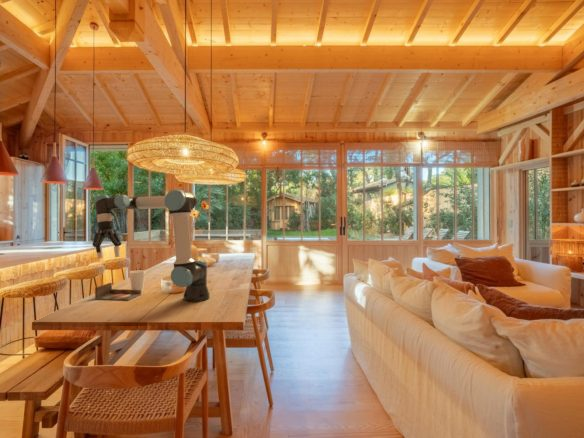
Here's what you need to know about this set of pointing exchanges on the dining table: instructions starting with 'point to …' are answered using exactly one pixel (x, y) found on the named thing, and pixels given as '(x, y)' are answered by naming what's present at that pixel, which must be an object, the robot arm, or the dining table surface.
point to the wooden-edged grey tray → (115, 293)
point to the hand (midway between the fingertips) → (109, 257)
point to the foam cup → (137, 279)
